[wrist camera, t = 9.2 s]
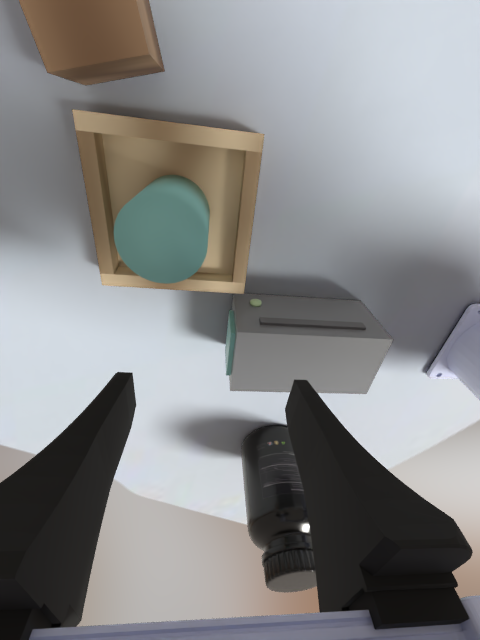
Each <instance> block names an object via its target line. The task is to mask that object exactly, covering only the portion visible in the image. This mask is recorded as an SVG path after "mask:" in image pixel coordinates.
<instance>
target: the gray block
mask: <svg viewBox="0 0 480 640" xmlns="http://www.w3.org/2000/svg"><path fill="white" fill-rule="evenodd" d="M392 342H393V338H392V337H391V336H390V335H389V334H388V332H387V331H386V330H385V329H384V328H383V326H382V325H381V324H380V323H379V322H378V320H377V319H376V318H375V317H374V316H373V315H372V313H371V312H370V311H369V310H368V309H367V307H366V306H365V305H364V304H363V303H362V301H360V300H344V299H328V298H312V297H296V296H280V295H264V294H248V293H244V294H236V293H233V301H232V310H229V318H228V327H227V337H226V347H225V356H226V375H229V379H230V391H260V392H291V389H292V385H293V382H294V379H295V380H307V381H308V382H309V383H310V384H311V386H312V387H313V388H314V390H315V391H316V392H317V393H348V394H367V392H368V390H369V388H370V386H371V384H372V382H373V380H374V378H375V376H376V374H377V372H378V370H379V368H380V366H381V364H382V362H383V360H384V358H385V356H386V354H387V352H388V350H389V348H390V346H391V344H392Z"/></svg>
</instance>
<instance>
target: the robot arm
mask: <svg viewBox="0 0 480 640" xmlns="http://www.w3.org/2000/svg"><path fill="white" fill-rule="evenodd" d="M427 376H428V377H429V378H436V379H459V380H460V381H461V382H462V383H463V384H464V385H465V386H466V387H467V388H468V389H469V390H470V391H471V392H472V393H473V394H474V395H475V396H476V397H477V398H478V399H479V400H480V304H472V305H470V306H469V307H468V308H467V309H466V311H465V312H464V314H463V316H462V317H461V319H460V320H459V322H458V324H457V325H456V327H455V328H454V330H453V331H452V333H451V335H450V336H449V338H448V339H447V341H446V343H445V344H444V346H443V347H442V349H441V351H440V352H439V354H438V355H437V357H436V359H435V360H434V362H433V363H432V365H431V367H430V368H429V370H428V371H427ZM135 407H136V400H135V392H134V383H133V374H132V373H125V372H117V373H116V374H115V375H114V376H113V377H112V379H111V380H110V381H109V382H108V384H107V385H106V386H105V387H104V388H103V390H102V391H101V392H100V393H99V394H98V395H97V397H96V398H95V399H94V400H93V401H92V402H91V403H90V404H89V405H88V407H87V408H86V409H85V410H84V411H83V412H82V413H81V414H80V415H79V416H78V417H77V418H76V419H75V420H74V421H73V422H72V423H71V424H70V425H69V426H68V427H67V428H66V429H65V430H64V431H63V432H62V433H61V434H60V435H59V436H58V437H57V438H56V439H54V440H53V441H52V442H51V443H50V444H49V445H48V446H47V447H45V448H44V449H43V450H42V451H41V452H40V453H38V454H37V455H36V456H35V457H34V458H32V459H31V460H30V461H28V462H27V463H26V464H25V465H24V466H22V467H21V468H20V469H18V470H17V471H16V472H15V473H13V474H12V475H11V476H9V477H8V478H7V479H5V480H4V481H2V482H1V483H0V640H480V596H468V597H464V598H461V599H460V598H459V596H458V595H457V593H456V591H455V589H454V588H456V587H457V586H458V584H457V581H456V579H455V578H454V576H453V574H452V571H454V570H455V569H457V568H458V567H460V566H461V565H462V564H464V563H465V562H466V561H468V560H469V559H470V558H471V556H472V549H471V547H470V545H469V544H468V542H467V541H466V539H465V537H464V535H463V534H462V532H461V531H460V529H459V527H458V526H457V524H456V523H455V521H454V519H452V518H451V517H449V516H448V515H447V514H445V513H444V512H442V511H441V510H439V509H438V508H436V507H435V506H434V505H432V504H431V503H429V502H428V501H426V500H425V499H424V498H422V497H421V496H419V495H418V494H417V493H416V492H414V491H413V490H412V489H410V488H409V487H408V486H406V485H405V484H404V483H403V482H401V481H400V480H399V479H398V478H396V477H395V476H394V475H393V474H392V473H390V472H389V471H388V470H387V469H386V468H385V467H384V466H383V465H381V464H380V463H379V462H378V461H377V460H376V459H375V458H374V457H373V456H372V455H371V454H369V453H368V452H367V451H366V450H365V449H364V448H363V447H362V446H361V445H360V444H359V443H358V442H357V441H356V440H355V438H354V437H353V436H352V435H351V434H350V433H349V432H348V431H347V430H346V429H345V427H344V426H343V425H342V424H341V423H340V422H339V420H338V419H337V418H336V417H335V415H334V414H333V413H332V412H331V411H330V409H329V408H328V407H327V405H326V404H325V403H324V402H323V400H322V399H321V398H320V396H319V395H318V394H317V392H316V391H315V390H314V388H313V387H312V386H311V384H310V383H309V382H308V381H307V380H295V379H294V382H293V385H292V389H291V392H290V395H289V398H288V402H287V405H286V408H285V412H286V419H287V426H288V432H289V436H290V440H291V444H292V447H293V451H294V455H295V458H296V462H297V466H298V470H299V473H300V477H301V481H302V486H303V490H304V496H305V502H306V508H307V514H308V520H309V527H310V533H311V540H312V548H313V556H314V563H315V572H316V581H317V589H318V599H319V609H320V613H305V614H287V615H270V616H253V617H237V618H236V617H235V618H219V619H201V620H184V621H167V622H151V623H133V624H116V625H98V626H81V627H76V626H77V625H78V624H79V622H80V621H81V618H82V613H83V608H84V603H85V598H86V593H87V587H88V583H89V578H90V573H91V569H92V564H93V559H94V554H95V550H96V545H97V541H98V537H99V533H100V528H101V524H102V520H103V516H104V512H105V507H106V504H107V500H108V496H109V492H110V488H111V485H112V482H113V478H114V475H115V473H116V470H117V467H118V464H119V461H120V458H121V455H122V452H123V450H124V447H125V444H126V441H127V438H128V435H129V432H130V429H131V425H132V421H133V417H134V412H135Z"/></svg>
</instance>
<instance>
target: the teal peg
mask: <svg viewBox="0 0 480 640" xmlns="http://www.w3.org/2000/svg"><path fill="white" fill-rule="evenodd" d="M209 218H210V210H209V204H208V201H207V198H206V196H205V194H204V193H203V191H202V190H201V189H200V188H199V186H198V185H196V184H195V183H194V182H193V181H191V180H190V179H188V178H185V177H183V176H179V175H165V176H161V177H159V178H157V179H155V180H154V181H152V182H151V183H150V184H149V185H148V186H147V187H145V188H144V189H143V190H142V191H141V192H139V193H138V194H137V195H136V196H135V197H133V198H132V199H131V200H130V201H129V202H128V203H126V204H125V205H124V206H123V208H122V209H121V210H120V212H119V213H118V215H117V218H116V220H115V225H114V241H115V245H116V248H117V251H118V253H119V255H120V257H121V258H122V260H123V261H124V263H125V264H126V265H127V266H128V267H129V268H130V269H131V270H132V271H133V272H135V273H136V274H137V275H139V276H141V277H142V278H145V279H147V280H149V281H152V282H156V283H164V284H169V283H176V282H180V281H183V280H185V279H187V278H189V277H191V276H192V275H193V274H195V273H196V272H197V271H198V269H199V268H200V267H201V265H202V264H203V262H204V260H205V257H206V254H207V248H208V233H209Z"/></svg>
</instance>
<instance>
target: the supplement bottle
mask: <svg viewBox="0 0 480 640" xmlns="http://www.w3.org/2000/svg"><path fill="white" fill-rule="evenodd" d="M241 454H242V467H243V479H244V490H245V502H246V513H247V524H248V532H249V536H250V538H251V540H252V541H253V543H254V544H255V545H256V546H257V547H258V548H260V549H261V550H263V551H264V554H263V555H262V565H263V567H264V572H265V582H266V586H267V588H269V589H270V590H272V591H276V592H297V591H303V590H307V589H310V588H313V587H316V586H317V581H316V572H315V563H314V556H313V548H312V540H311V533H310V527H309V520H308V514H307V508H306V502H305V496H304V490H303V486H302V481H301V477H300V473H299V470H298V466H297V462H296V458H295V455H294V451H293V447H292V444H291V440H290V436H289V432H288V427H284V426H267V427H263V428H260V429H257V430H255V431H254V432H252V433H251V434H249V435H248V436H247V437H246V439H245V440H244V442H243V444H242V448H241Z"/></svg>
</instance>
